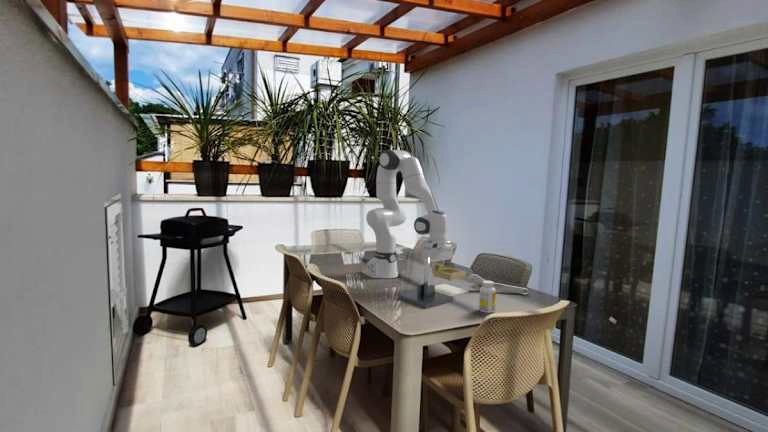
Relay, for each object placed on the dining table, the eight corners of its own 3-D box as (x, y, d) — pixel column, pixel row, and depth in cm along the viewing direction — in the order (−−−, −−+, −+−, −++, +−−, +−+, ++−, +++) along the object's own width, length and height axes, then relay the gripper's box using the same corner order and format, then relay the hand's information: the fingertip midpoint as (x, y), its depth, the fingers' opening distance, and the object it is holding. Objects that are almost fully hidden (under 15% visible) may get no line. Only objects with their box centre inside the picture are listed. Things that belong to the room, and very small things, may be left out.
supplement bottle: (492, 308, 184) (493, 279, 183) (496, 313, 177) (498, 283, 176) (477, 308, 184) (478, 279, 182) (481, 313, 177) (482, 283, 176)
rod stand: (398, 298, 196) (399, 256, 194) (425, 292, 207) (426, 252, 205) (426, 308, 182) (427, 263, 180) (453, 300, 194) (454, 258, 192)
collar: (426, 274, 211) (426, 264, 211) (441, 271, 218) (441, 261, 218) (450, 280, 199) (450, 270, 199) (465, 277, 206) (465, 267, 206)
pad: (422, 290, 210) (422, 288, 210) (444, 285, 221) (444, 283, 221) (446, 298, 198) (446, 296, 198) (468, 292, 208) (468, 290, 208)
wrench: (527, 300, 206) (466, 289, 212) (526, 299, 208) (466, 288, 214) (530, 284, 205) (468, 273, 211) (529, 284, 207) (468, 272, 213)
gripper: (447, 240, 221) (446, 265, 222) (419, 243, 207) (418, 271, 209) (456, 241, 216) (455, 268, 217) (428, 245, 203) (428, 273, 204)
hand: (437, 269), depth 213 cm, fingers closed on collar, 3 cm apart
